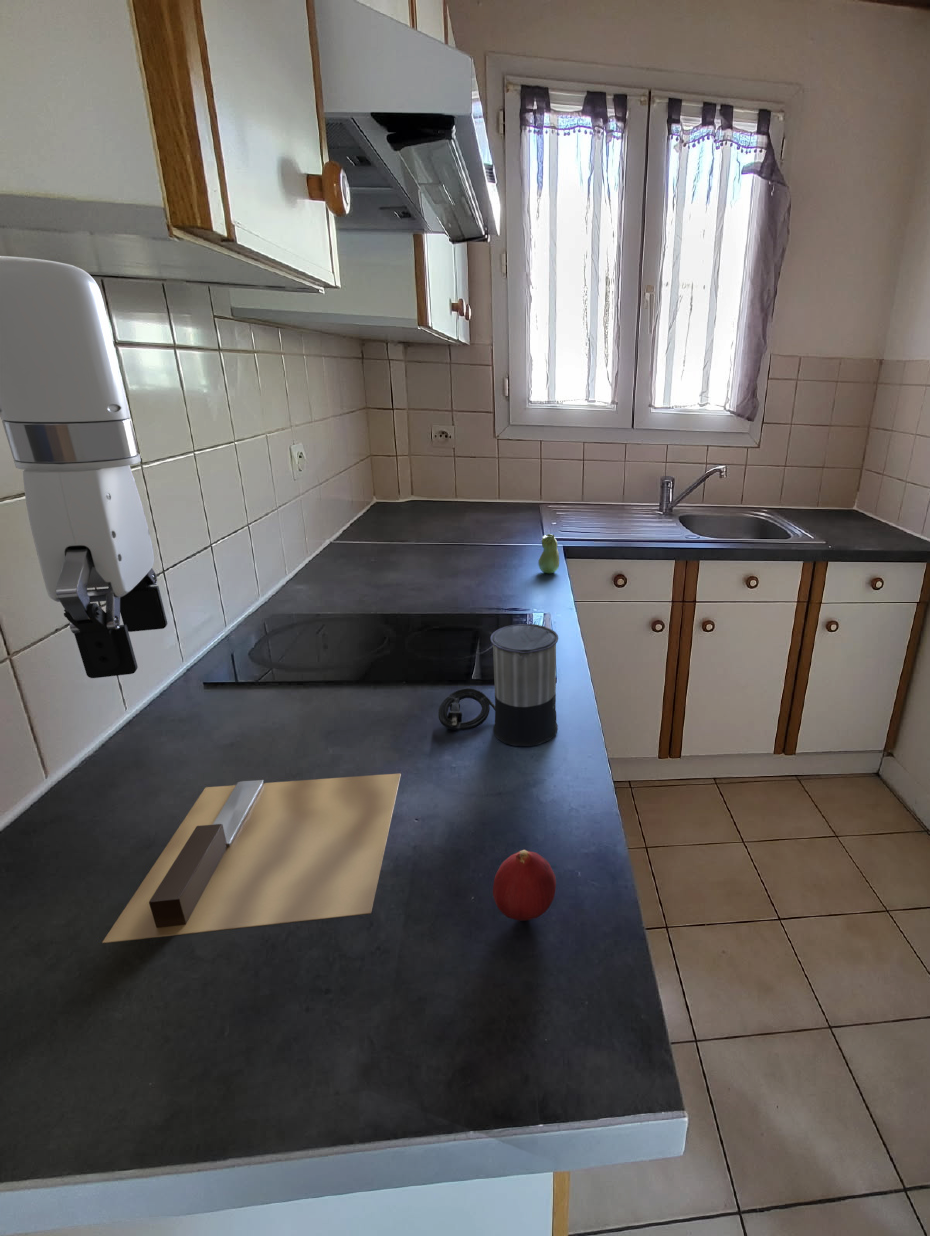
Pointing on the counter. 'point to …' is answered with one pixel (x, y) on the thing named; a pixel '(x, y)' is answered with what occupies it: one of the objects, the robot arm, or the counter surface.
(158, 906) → the knife
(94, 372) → the robot arm
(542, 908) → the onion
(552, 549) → the pear
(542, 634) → the milk frother
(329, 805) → the chopping board
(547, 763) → the counter surface
